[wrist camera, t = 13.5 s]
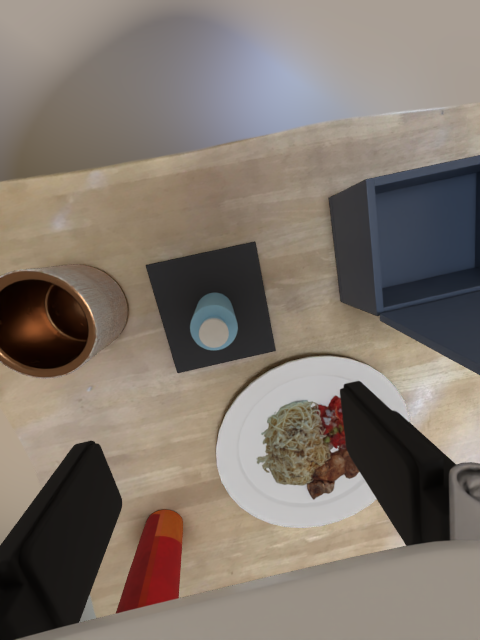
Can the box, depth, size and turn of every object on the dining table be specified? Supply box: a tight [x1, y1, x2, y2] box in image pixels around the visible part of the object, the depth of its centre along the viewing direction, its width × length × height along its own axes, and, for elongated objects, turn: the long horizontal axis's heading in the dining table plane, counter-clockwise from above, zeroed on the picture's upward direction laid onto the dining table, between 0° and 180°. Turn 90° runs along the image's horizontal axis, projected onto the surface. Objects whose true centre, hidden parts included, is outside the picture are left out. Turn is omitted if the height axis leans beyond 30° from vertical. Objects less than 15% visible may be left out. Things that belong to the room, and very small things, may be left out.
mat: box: [146, 242, 276, 373], centre depth 36 cm, size 15×14×1 cm
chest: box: [329, 155, 480, 316], centre depth 32 cm, size 14×20×9 cm
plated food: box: [216, 355, 410, 528], centre depth 41 cm, size 30×30×3 cm
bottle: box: [190, 293, 238, 350], centre depth 30 cm, size 5×5×11 cm
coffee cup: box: [116, 510, 183, 613], centre depth 37 cm, size 8×8×15 cm
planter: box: [0, 264, 128, 378], centre depth 30 cm, size 11×11×10 cm
